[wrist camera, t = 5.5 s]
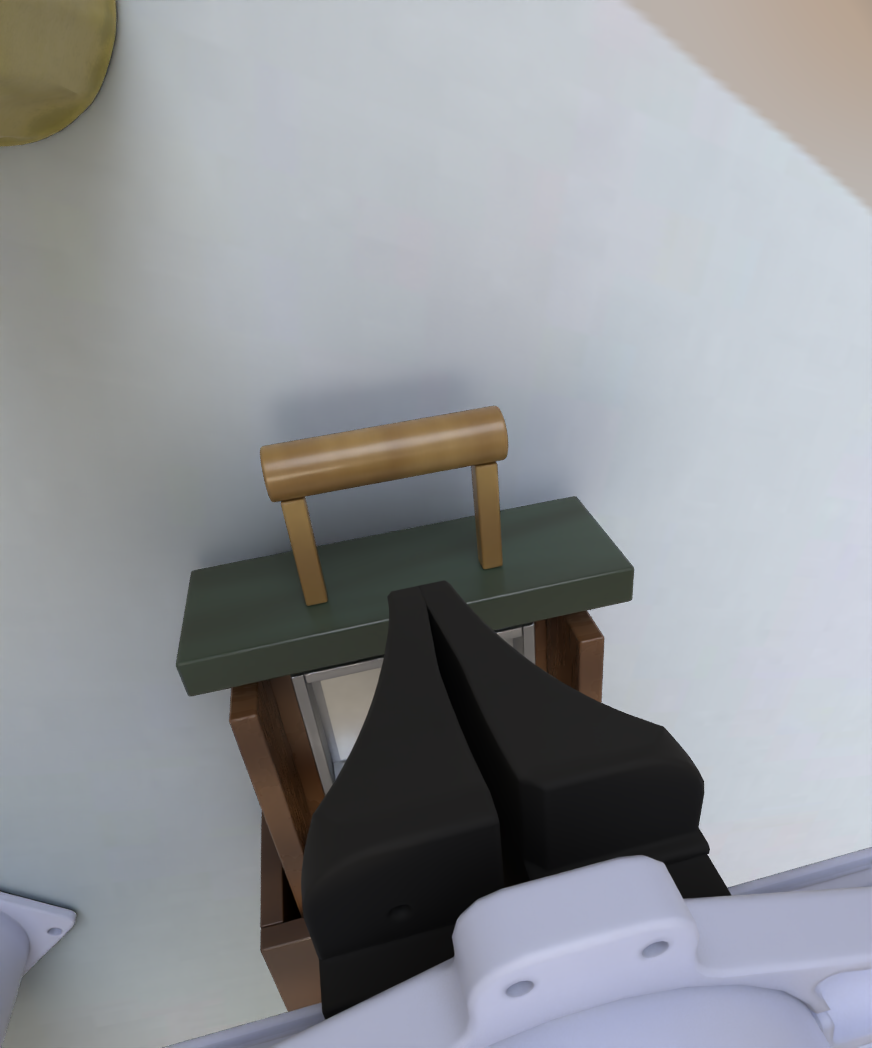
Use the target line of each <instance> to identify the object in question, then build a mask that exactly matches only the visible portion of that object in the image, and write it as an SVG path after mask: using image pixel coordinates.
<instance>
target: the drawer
mask: <svg viewBox="0 0 872 1048" xmlns="http://www.w3.org/2000/svg"><path fill="white" fill-rule="evenodd" d="M507 453H508V436H507V429H506V424H505V421H504V418H503V415H502V413H501V411H500V409H499V408H498V407H497V406H489V407H484V408H478V409H472V410H466V411H461V412H455V413H449V414H443V415H438V416H432V417H426V418H420V419H415V420H409V421H403V422H398V423H392V424H386V425H380V426H375V427H369V428H363V429H357V430H352V431H346V432H340V433H334V434H329V435H323V436H317V437H312V438H306V439H300V440H294V441H289V442H283V443H277V444H271V445H266V446H262V447H261V448H260V459H261V466H262V472H263V477H264V481H265V485H266V489H267V492H268V495H269V498H270V500H271V501H272V502H278V501H281V507H282V511H283V515H284V519H285V523H286V527H287V531H288V535H289V539H290V543H291V547H292V551H290V552H285V553H280V554H275V555H270V556H265V557H260V558H255V559H249V560H244V561H239V562H234V563H229V564H224V565H219V566H213V567H208V568H203V569H198V570H194V571H192V572H191V577H190V583H189V589H188V595H187V600H186V606H185V612H184V618H183V624H182V630H181V636H180V642H179V648H178V654H177V660H176V667H177V670H178V672H179V675H180V677H181V680H182V682H183V685H184V687H185V690H186V692H187V694H188V696H196V695H200V694H205V693H209V692H214V691H219V690H223V689H228V688H231V698H230V714H229V723H230V725H231V728H232V731H233V733H234V736H235V739H236V742H237V744H238V747H239V750H240V752H241V755H242V758H243V760H244V763H245V766H246V769H247V771H248V774H249V777H250V779H251V782H252V785H253V787H254V790H255V793H256V796H257V798H258V801H259V804H260V806H261V809H262V812H263V814H264V817H265V820H266V823H267V825H268V828H269V831H270V833H271V836H272V839H273V841H274V844H275V847H276V850H277V852H278V855H279V858H280V860H281V863H282V866H283V868H284V871H285V874H286V877H287V879H288V882H289V885H290V887H291V890H292V893H293V895H294V898H295V901H296V904H297V906H298V909H299V912H300V914H301V917H302V918H303V917H304V916H303V908H302V894H301V874H302V863H303V856H304V850H305V845H306V840H307V836H308V831H309V827H310V823H311V819H312V815H313V813H314V812H315V811H316V809H317V807H318V806H319V804H320V803H321V801H322V800H323V798H324V797H325V796H324V793H323V789H322V786H321V782H320V779H319V775H318V772H317V768H316V765H315V761H314V758H313V754H312V751H311V747H310V744H309V740H308V737H307V733H306V730H305V727H304V723H303V720H302V716H301V713H300V709H299V706H298V702H297V699H296V695H295V692H294V688H293V685H292V681H291V677H290V675H292V674H297V673H301V672H306V671H311V670H315V669H320V668H324V667H329V666H333V665H338V664H343V663H347V662H352V661H356V660H361V659H366V658H370V657H375V656H379V655H384V654H385V648H386V641H387V635H388V625H389V604H388V598H387V596H388V595H389V594H390V592H391V591H395V590H400V589H405V588H409V587H414V586H419V585H424V584H429V583H433V582H438V581H443V580H445V581H447V582H448V583H450V584H451V586H452V587H453V588H454V589H455V591H456V592H457V593H458V594H459V595H460V597H461V598H462V599H463V600H464V601H465V602H466V603H467V604H468V606H469V607H470V608H471V609H472V610H473V611H474V612H475V613H476V614H477V615H478V616H479V617H480V618H481V619H482V620H483V621H484V622H485V623H486V624H487V625H488V626H489V627H490V628H492V629H493V630H499V629H504V628H508V627H513V626H517V625H522V624H527V623H531V622H534V624H535V657H536V665H537V666H538V667H540V668H541V669H542V670H544V671H545V672H547V673H548V674H550V675H551V676H553V677H555V678H556V679H558V680H559V681H561V682H563V683H564V684H566V685H568V686H570V687H572V688H573V689H575V690H577V691H579V692H581V693H583V694H585V695H586V696H588V697H590V698H592V699H594V700H596V701H598V702H601V701H602V679H603V656H604V636H603V635H602V633H601V631H600V630H599V628H598V627H597V625H596V624H595V622H594V621H593V619H592V617H591V616H590V614H589V613H588V611H587V610H591V609H595V608H600V607H605V606H609V605H614V604H618V603H623V602H628V601H631V600H632V594H633V579H634V567H633V566H632V565H631V563H630V562H629V561H628V560H627V558H626V557H625V556H624V555H623V553H622V552H621V551H620V550H619V548H618V547H617V546H616V545H615V544H614V542H613V541H612V540H611V539H610V537H609V536H608V535H607V534H606V532H605V531H604V530H603V529H602V527H601V526H600V525H599V524H598V523H597V521H596V520H595V519H594V518H593V516H592V515H591V514H590V513H589V511H588V510H587V509H586V508H585V507H584V505H583V504H582V503H581V502H580V500H579V499H578V498H577V497H576V496H573V497H568V498H563V499H557V500H552V501H547V502H542V503H537V504H532V505H527V506H521V507H516V508H511V509H506V510H501V511H500V504H499V486H498V467H497V463H496V461H500V460H504V459H505V458H506V457H507ZM467 466H471V472H472V485H473V498H474V511H475V516H470V517H465V518H460V519H455V520H450V521H444V522H439V523H434V524H429V525H424V526H419V527H414V528H409V529H403V530H398V531H393V532H388V533H383V534H378V535H373V536H367V537H362V538H357V539H352V540H347V541H342V542H337V543H332V544H326V545H321V546H316V541H315V537H314V533H313V528H312V524H311V520H310V515H309V511H308V506H307V502H306V498H305V496H311V495H316V494H322V493H327V492H332V491H338V490H343V489H349V488H354V487H359V486H365V485H370V484H376V483H381V482H386V481H392V480H397V479H403V478H408V477H413V476H419V475H424V474H430V473H435V472H440V471H446V470H451V469H457V468H462V467H467Z"/></svg>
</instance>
